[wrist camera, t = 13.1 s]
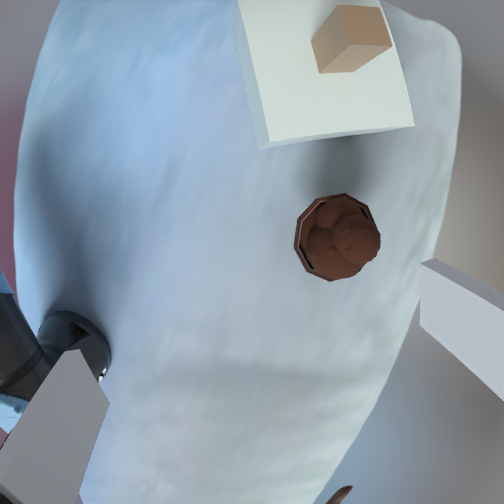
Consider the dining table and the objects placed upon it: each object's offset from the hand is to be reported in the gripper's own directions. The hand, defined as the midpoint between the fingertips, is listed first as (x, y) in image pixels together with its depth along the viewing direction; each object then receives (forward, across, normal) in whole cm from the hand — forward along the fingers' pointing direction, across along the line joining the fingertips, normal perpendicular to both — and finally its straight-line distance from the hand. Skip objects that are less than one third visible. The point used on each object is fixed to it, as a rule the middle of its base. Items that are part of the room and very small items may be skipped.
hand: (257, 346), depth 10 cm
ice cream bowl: (+35, +12, -5) cm, 38 cm away
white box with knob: (+35, +15, +16) cm, 41 cm away
